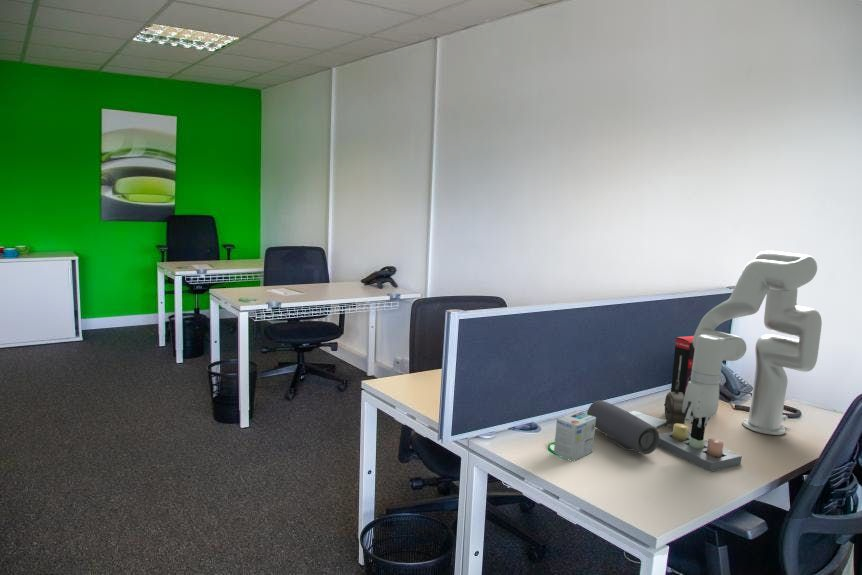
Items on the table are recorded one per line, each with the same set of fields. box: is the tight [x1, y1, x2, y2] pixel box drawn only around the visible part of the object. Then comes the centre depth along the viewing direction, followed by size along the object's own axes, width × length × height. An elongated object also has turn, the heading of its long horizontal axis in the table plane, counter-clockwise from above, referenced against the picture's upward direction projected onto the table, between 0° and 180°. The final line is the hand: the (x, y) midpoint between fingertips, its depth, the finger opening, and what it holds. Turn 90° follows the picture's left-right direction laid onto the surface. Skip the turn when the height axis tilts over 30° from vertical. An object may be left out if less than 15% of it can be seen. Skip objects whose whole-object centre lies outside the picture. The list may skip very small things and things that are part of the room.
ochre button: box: [672, 423, 689, 441], centre depth 180 cm, size 4×4×4 cm
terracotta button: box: [706, 438, 725, 458], centre depth 170 cm, size 4×4×4 cm
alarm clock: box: [663, 380, 686, 427], centre depth 194 cm, size 11×5×16 cm, turn 169°
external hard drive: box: [629, 410, 667, 430], centre depth 200 cm, size 2×8×12 cm
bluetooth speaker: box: [586, 399, 660, 455], centre depth 180 cm, size 23×9×10 cm, turn 23°
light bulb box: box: [553, 410, 596, 462], centre depth 170 cm, size 11×7×11 cm, turn 134°
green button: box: [689, 436, 706, 450], centre depth 175 cm, size 4×4×4 cm
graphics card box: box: [670, 335, 695, 415], centre depth 209 cm, size 17×7×27 cm, turn 117°
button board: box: [657, 431, 743, 472], centre depth 175 cm, size 13×20×2 cm, turn 28°
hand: (696, 438), depth 175 cm, fingers closed
